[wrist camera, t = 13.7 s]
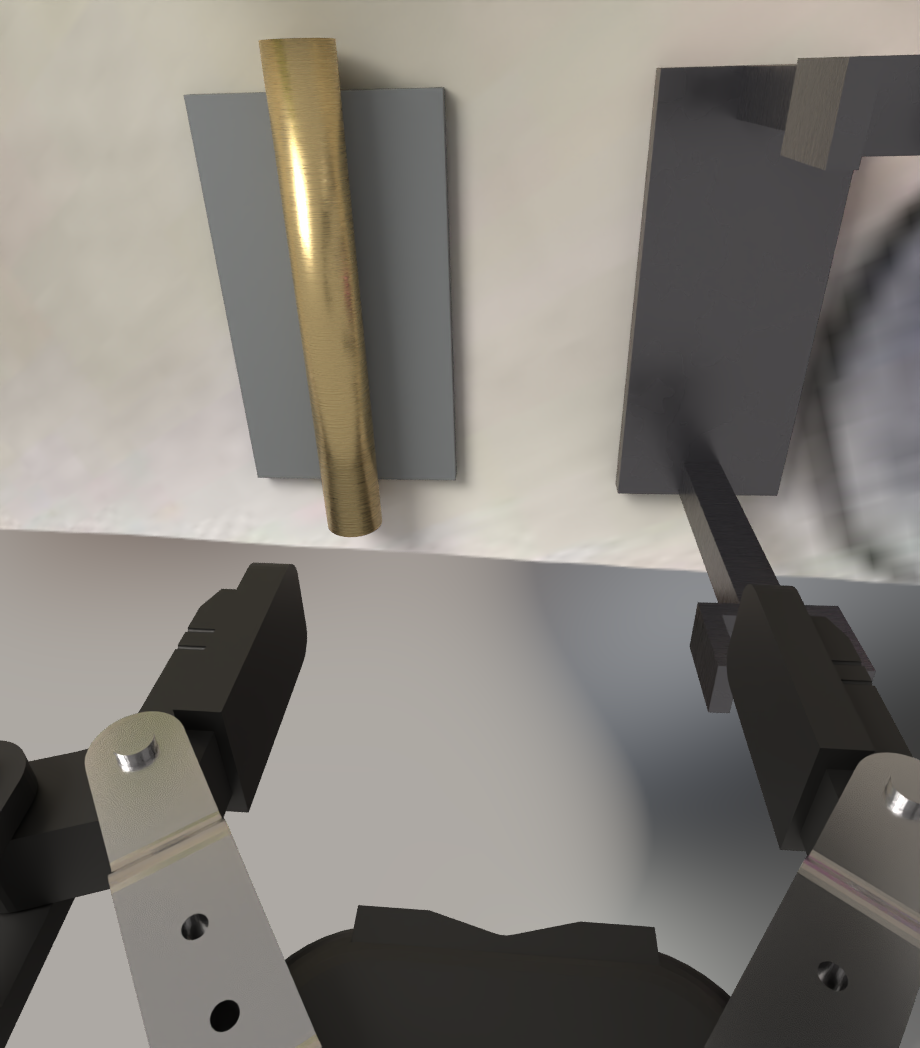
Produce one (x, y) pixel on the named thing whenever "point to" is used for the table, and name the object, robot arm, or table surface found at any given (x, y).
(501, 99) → the table surface
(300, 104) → the rail
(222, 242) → the mat
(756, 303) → the hook stand
